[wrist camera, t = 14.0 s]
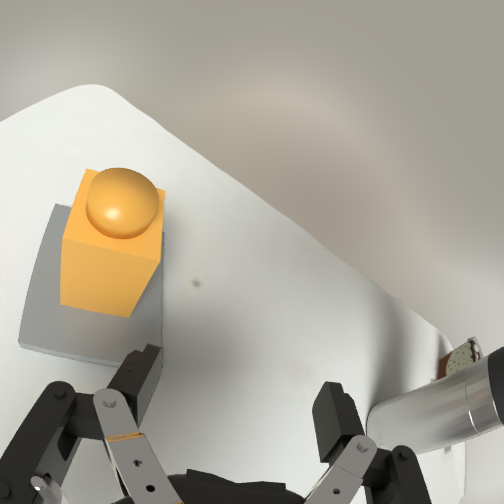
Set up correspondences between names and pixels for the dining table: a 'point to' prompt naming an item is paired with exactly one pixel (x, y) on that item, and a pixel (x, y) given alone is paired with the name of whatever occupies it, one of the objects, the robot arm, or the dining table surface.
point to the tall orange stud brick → (111, 241)
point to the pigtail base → (83, 311)
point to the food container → (459, 358)
